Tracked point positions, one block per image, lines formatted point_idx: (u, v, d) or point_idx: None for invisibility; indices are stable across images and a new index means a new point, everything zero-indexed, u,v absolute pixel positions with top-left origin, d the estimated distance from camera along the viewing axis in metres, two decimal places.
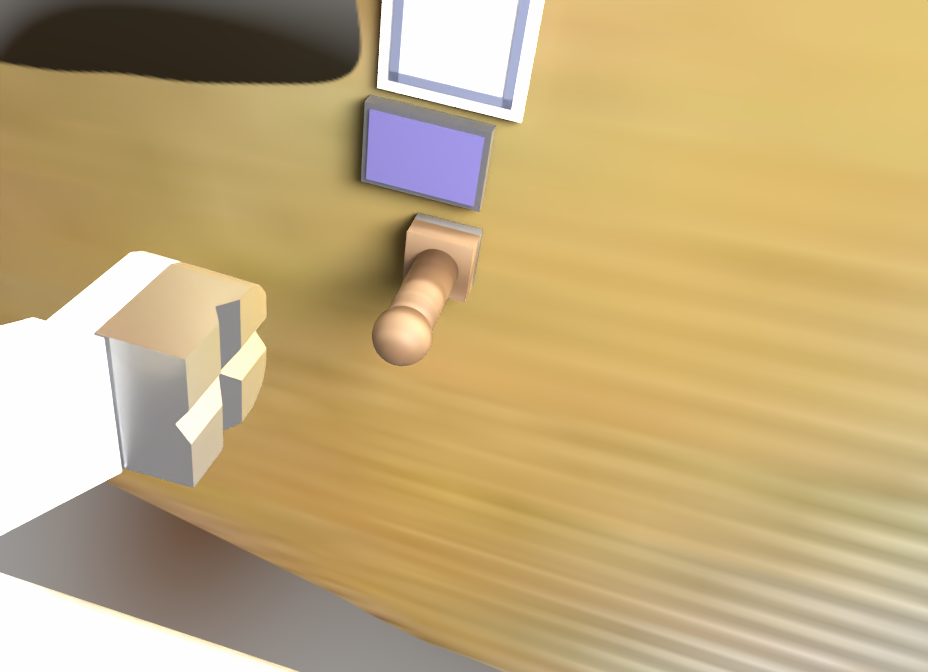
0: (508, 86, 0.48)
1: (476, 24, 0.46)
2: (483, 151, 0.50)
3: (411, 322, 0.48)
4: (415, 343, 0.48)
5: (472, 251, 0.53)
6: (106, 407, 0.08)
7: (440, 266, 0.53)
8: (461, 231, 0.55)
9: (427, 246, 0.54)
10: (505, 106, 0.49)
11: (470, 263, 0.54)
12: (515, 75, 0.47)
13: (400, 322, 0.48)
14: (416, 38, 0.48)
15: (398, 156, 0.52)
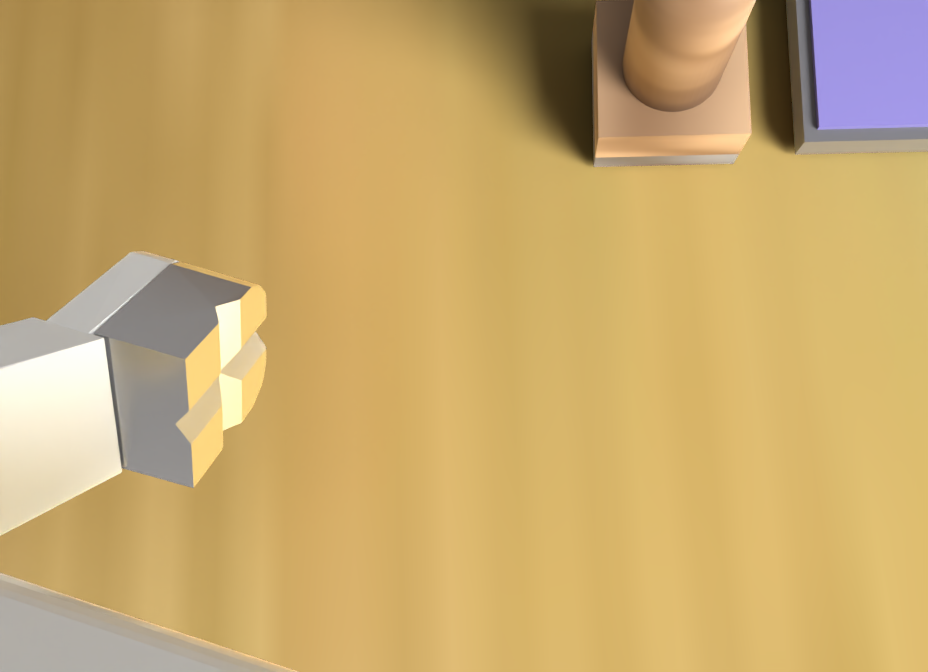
0: None
1: None
2: None
3: None
4: None
5: (743, 132, 0.25)
6: (106, 407, 0.08)
7: None
8: None
9: None
10: None
11: (710, 132, 0.25)
12: None
13: None
14: None
15: None
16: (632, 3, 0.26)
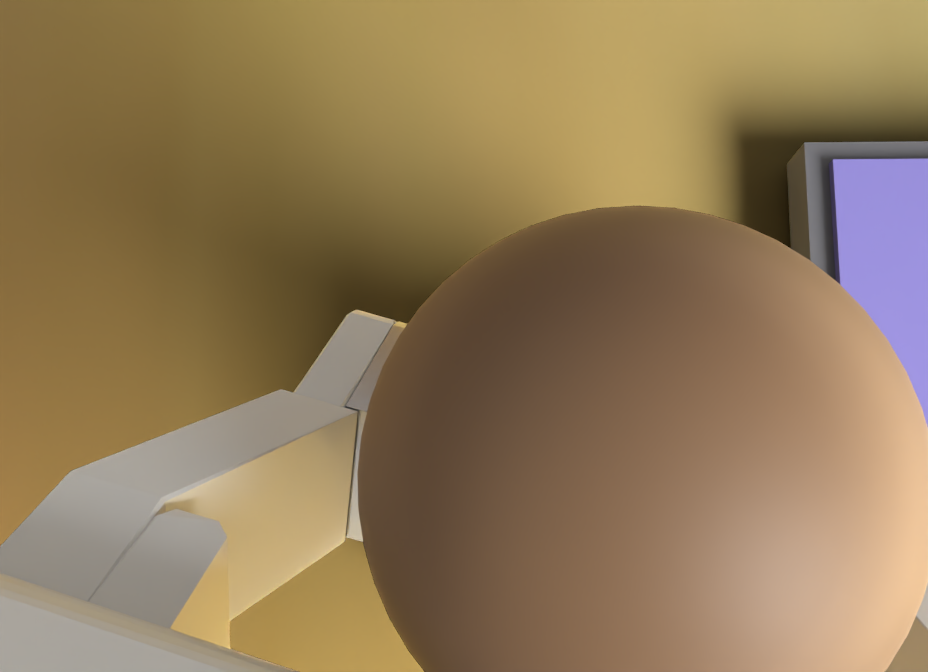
0: None
1: None
2: None
3: None
4: None
5: None
6: (346, 479, 0.08)
7: None
8: None
9: None
10: None
11: None
12: None
13: None
14: None
15: None
16: None
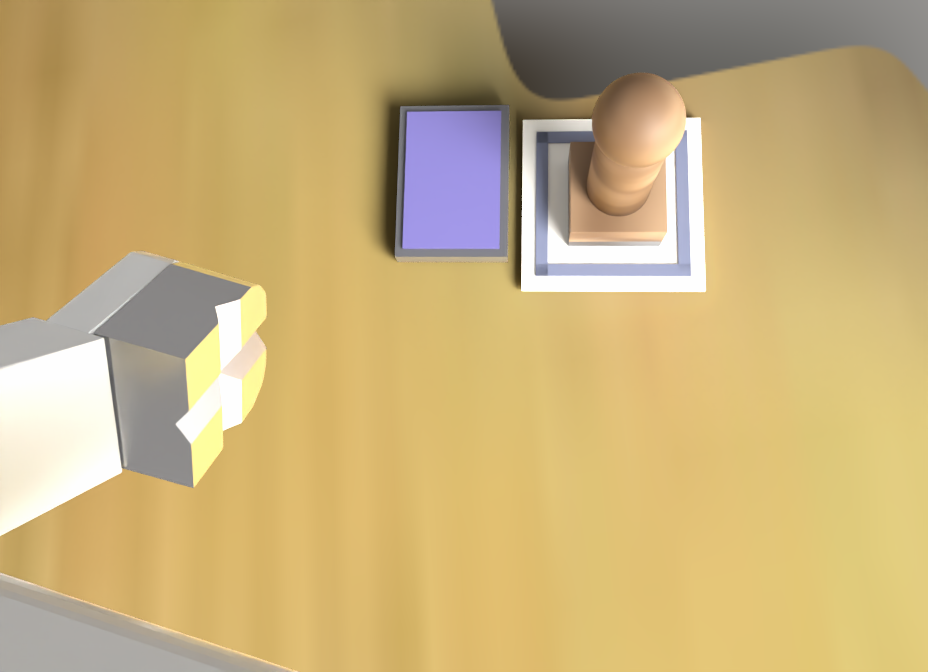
0: (562, 267, 0.41)
1: None
2: (481, 250, 0.41)
3: (683, 129, 0.32)
4: (663, 135, 0.31)
5: (662, 230, 0.39)
6: (106, 407, 0.08)
7: None
8: None
9: None
10: (537, 269, 0.42)
11: (641, 230, 0.39)
12: (577, 274, 0.41)
13: (684, 112, 0.32)
14: None
15: (448, 149, 0.42)
16: (593, 144, 0.40)
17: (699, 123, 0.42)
